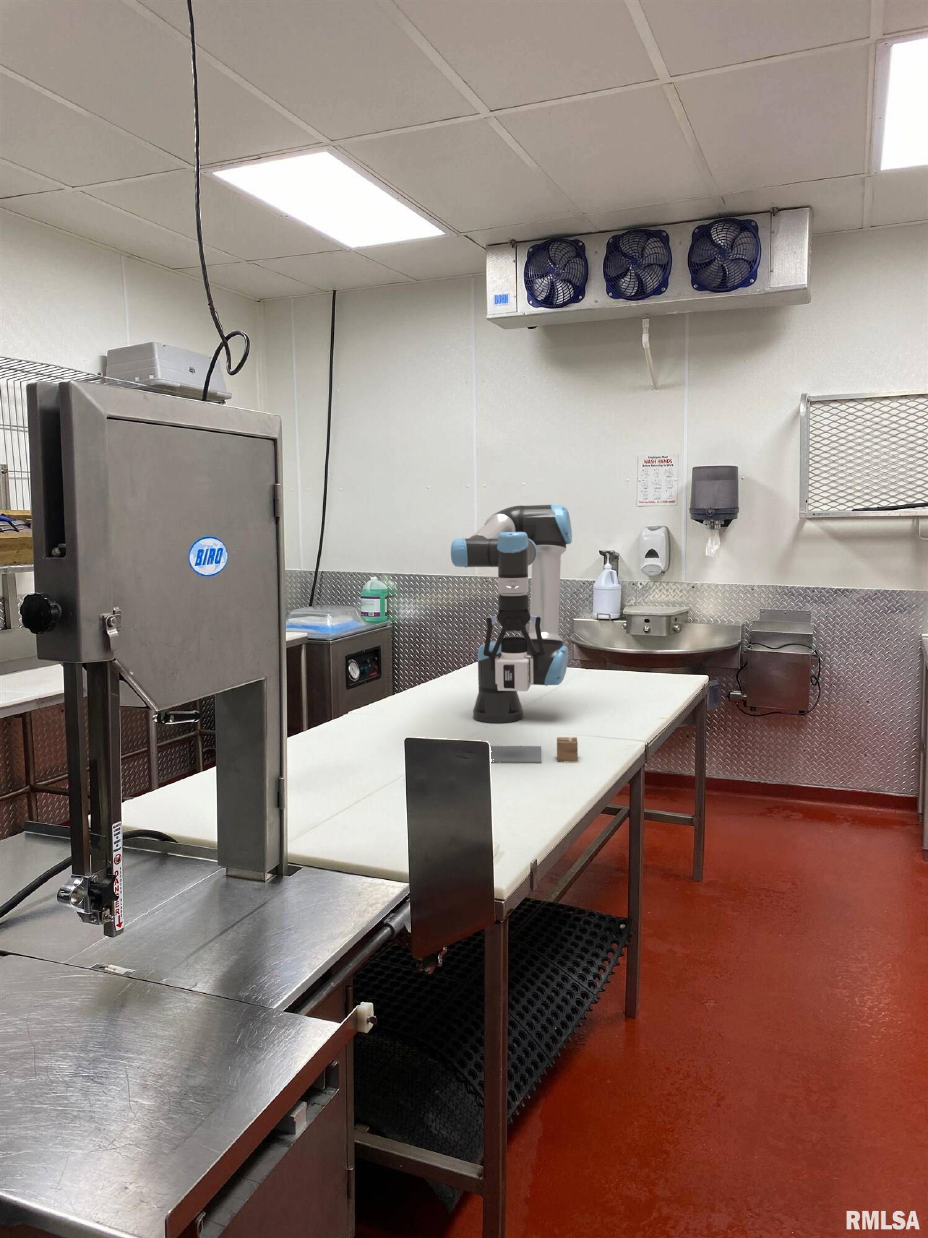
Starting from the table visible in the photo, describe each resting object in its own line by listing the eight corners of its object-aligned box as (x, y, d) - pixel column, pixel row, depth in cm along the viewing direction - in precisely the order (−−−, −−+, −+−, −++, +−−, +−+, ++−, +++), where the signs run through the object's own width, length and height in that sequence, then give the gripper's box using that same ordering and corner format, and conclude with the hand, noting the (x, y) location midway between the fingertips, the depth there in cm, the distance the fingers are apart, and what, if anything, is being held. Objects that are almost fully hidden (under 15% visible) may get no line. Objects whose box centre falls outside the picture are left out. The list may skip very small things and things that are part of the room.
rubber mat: (488, 747, 230) (488, 745, 230) (541, 747, 229) (541, 746, 229) (485, 762, 216) (484, 761, 216) (541, 763, 215) (541, 761, 215)
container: (527, 691, 216) (527, 640, 214) (497, 690, 217) (496, 639, 215) (531, 684, 223) (530, 635, 221) (501, 684, 224) (501, 634, 223)
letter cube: (556, 756, 221) (556, 736, 220) (576, 756, 220) (576, 736, 220) (557, 762, 216) (557, 741, 215) (577, 762, 216) (577, 741, 215)
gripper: (470, 596, 214) (472, 686, 217) (555, 595, 212) (556, 686, 215) (472, 592, 221) (474, 680, 224) (554, 591, 220) (555, 679, 223)
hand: (514, 682), depth 220 cm, fingers closed on container, 8 cm apart
